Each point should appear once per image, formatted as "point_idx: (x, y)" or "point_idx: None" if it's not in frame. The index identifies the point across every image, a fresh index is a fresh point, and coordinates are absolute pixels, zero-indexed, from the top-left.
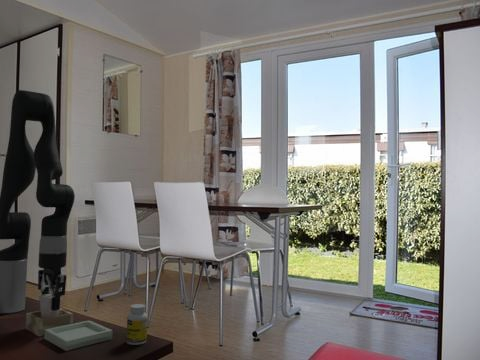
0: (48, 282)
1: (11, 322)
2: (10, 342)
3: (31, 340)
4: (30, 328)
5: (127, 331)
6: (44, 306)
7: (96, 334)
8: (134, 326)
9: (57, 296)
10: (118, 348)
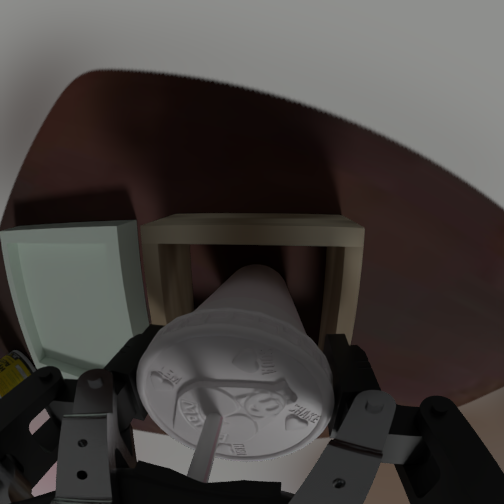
0: (89, 480)
1: (468, 213)
2: (180, 95)
3: (147, 170)
4: (279, 214)
5: (4, 364)
6: (198, 309)
7: (20, 323)
8: None
9: (71, 384)
10: (5, 321)
